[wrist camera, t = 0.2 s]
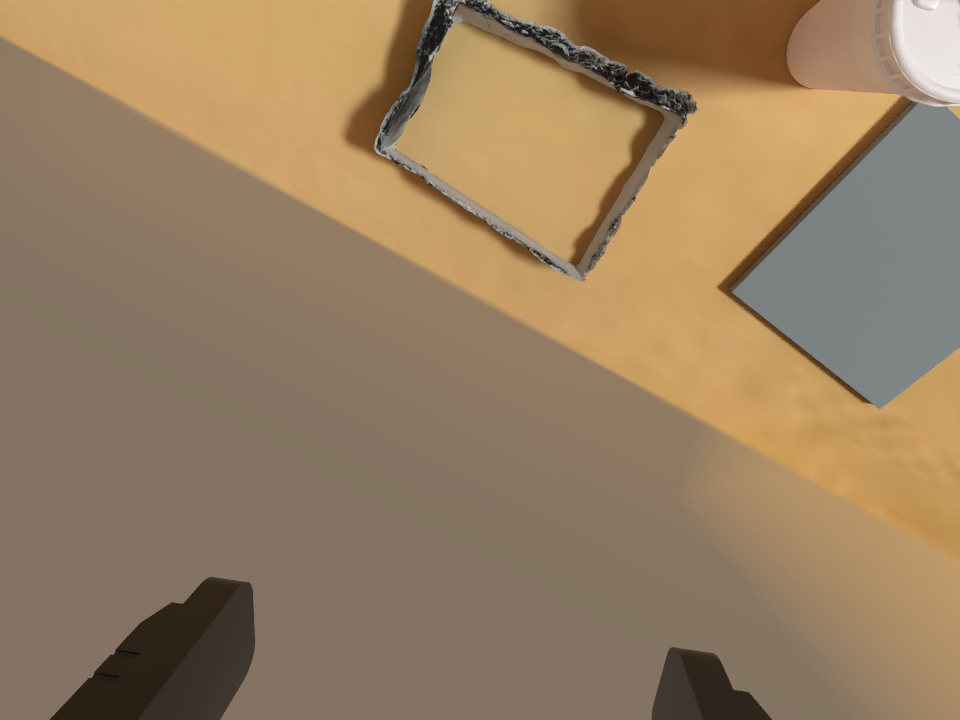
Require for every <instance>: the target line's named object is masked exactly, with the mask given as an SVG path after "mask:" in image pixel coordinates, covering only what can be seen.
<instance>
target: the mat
mask: <svg viewBox="0 0 960 720" xmlns="http://www.w3.org/2000/svg"><path fill="white" fill-rule="evenodd" d="M728 290H729V291H730V292H732V293H733V294H734V295H735V296H737V297H738V298H739V299H740V300H742V301H743V302H744V303H745V304H747V305H748V306H749V307H751V308H752V309H753V310H754V311H756V312H757V313H758V314H759V315H761V316H762V317H763V318H764V319H766V320H767V321H768V322H770V323H771V324H772V325H773V326H775V327H776V328H777V329H778V330H780V331H781V332H782V333H783V334H785V335H786V336H787V337H789V338H790V339H791V340H792V341H794V342H795V343H796V344H797V345H799V346H800V347H801V348H802V349H804V350H805V351H806V352H808V353H809V354H810V355H811V356H813V357H814V358H815V359H816V360H818V361H819V362H820V363H821V364H823V365H824V366H825V367H827V368H828V369H829V370H830V371H832V372H833V373H834V374H835V375H837V376H838V377H839V378H840V379H842V380H843V381H844V382H846V383H847V384H848V385H849V386H851V387H852V388H853V389H854V390H856V391H857V392H858V393H859V394H861V395H862V396H863V397H865V398H866V399H867V400H868V401H870V402H871V403H872V404H873V405H875V406H876V407H877V408H879V409H881V408H882V407H883V406H885V405H886V404H887V403H888V402H890V401H891V400H892V399H894V398H895V397H896V396H897V395H899V394H900V393H901V392H903V391H904V390H905V389H906V388H908V387H909V386H910V385H912V384H913V383H914V382H915V381H917V380H918V379H919V378H921V377H922V376H923V375H925V374H926V373H927V372H928V371H930V370H931V369H932V368H934V367H935V366H936V365H937V364H939V363H940V362H941V361H943V360H944V359H945V358H946V357H948V356H949V355H950V354H952V353H953V352H954V351H955V350H957V349H958V348H959V347H960V119H958V118H957V117H956V116H955V115H954V114H953V113H952V112H951V111H950V110H949V109H948V108H947V107H933V106H929V105H925V104H922V103H918V102H914V101H912V102H911V103H910V104H909V105H908V106H907V107H906V108H905V109H904V111H903V112H902V113H901V114H900V115H899V116H898V117H897V118H896V119H895V120H894V121H893V122H892V123H891V124H890V125H889V126H888V127H887V128H886V129H885V130H884V131H883V132H882V133H881V134H880V135H879V136H878V137H877V138H876V139H875V140H874V141H873V142H872V143H871V144H870V145H869V146H868V147H867V148H866V149H865V150H864V151H863V152H862V153H861V154H860V155H859V156H858V157H857V158H856V159H855V160H854V162H853V163H852V164H851V165H850V166H849V167H848V168H847V169H846V170H845V171H844V172H843V173H842V174H841V175H840V176H839V177H838V178H837V179H836V180H835V181H834V182H833V183H832V184H831V185H830V186H829V187H828V188H827V189H826V190H825V191H824V192H823V193H822V194H821V195H820V196H819V197H818V198H817V199H816V200H815V201H814V202H813V203H812V204H811V205H810V206H809V207H808V208H807V209H806V210H805V211H804V212H803V214H802V215H801V216H800V217H799V218H798V219H797V220H796V221H795V222H794V223H793V224H792V225H791V226H790V227H789V228H788V229H787V230H786V231H785V232H784V233H783V234H782V235H781V236H780V237H779V238H778V239H777V240H776V241H775V242H774V243H773V244H772V245H771V246H770V247H769V248H768V249H767V250H766V251H765V252H764V253H763V254H762V255H761V256H760V257H759V258H758V259H757V260H756V261H755V262H754V263H753V265H752V266H751V267H750V268H749V269H748V270H747V271H746V272H745V273H744V274H743V275H742V276H741V277H740V278H739V279H738V280H737V281H736V282H735V283H734V284H733V285H732V286H731V287H730V288H729V289H728Z"/></svg>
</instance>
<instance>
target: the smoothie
mask: <svg viewBox="0 0 960 720" xmlns="http://www.w3.org/2000/svg"><path fill="white" fill-rule="evenodd" d="M786 58H787V65H788V69H789V71H790V73H791V75H792V77H793V78H794V79H795V80H796V81H797V82H798V83H799V84H801V85H803V86H805V87H807V88H811V89H823V90H840V91H856V92H872V93H888V94H900V95H903V96H905V97H906V98H908V99H909V100H910V101H914V102H918V103H922V104H925V105H929V106H933V107H950V106H960V0H821V1H820V2H818V3H817V4H816V5H815V6H813V7H812V8H811V9H810V10H808V11H807V12H806V13H805V14H804V15H803V16H802V18H801V19H800V20H799V21H798V23H797V24H796V26H795V28H794V29H793V31H792V33H791V36H790V38H789V42H788V46H787V54H786Z"/></svg>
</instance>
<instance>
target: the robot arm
mask: <svg viewBox="0 0 960 720" xmlns="http://www.w3.org/2000/svg"><path fill="white" fill-rule="evenodd" d="M253 609H254V608H253V590H252V586H251V584H250V583H249V582H242V581H236V580H228V579H222V578H215V577H209V578H207V579H206V580H204V581H203V582H202V583H201V584H200V586H198V588H197V589H196V590H195V591H194V592H193V593H192V595H191V596H190V597H189V598H188V599H187V600H186V601H185V603H184V604H179V603H173V602H172V603H170V604H169V605H167V606H166V607H164V608H163V609H161V610H159V611H158V612H156V613H155V614H153V615H152V616H150V617H149V618H147V619H146V620H144V621H143V622H141V623H140V624H139V625H138V626H137V627H136V628H135V629H134V630H133V632H132V633H131V634H130V635H129V636H128V637H127V638H126V639H125V640H124V641H123V642H122V643H121V644H120V646H118V648H117V649H116V651H115V653H114V655H110V656H109V657H108V658H107V659H106V660H105V661H104V662H103V663H102V665H101V666H100V667H99V668H98V669H97V670H96V671H95V673H94V676H93V677H92V678H89V679H88V680H87V681H86V682H85V683H84V684H83V685H82V686H81V687H80V688H79V689H78V690H77V691H76V692H75V693H74V694H73V696H72V697H71V698H70V699H69V700H68V701H67V702H66V703H65V704H64V705H63V706H62V707H61V708H60V709H59V710H58V711H57V713H56V714H55V715H54V716H53V717H52V718H51V719H50V720H220V719H221V717H222V716H223V714H224V712H225V711H226V709H227V707H228V706H229V704H230V702H231V700H232V699H233V697H234V696H235V694H236V692H237V691H238V689H239V687H240V685H241V684H242V682H243V681H244V678H245V676H246V675H247V672H248V670H249V667H250V665H251V661H252V658H253V654H254V649H255V630H254V610H253ZM652 720H772V719H771V718H770V717H769V716H768V714H767V713H766V712H765V711H764V710H763V708H762V707H761V706H760V705H759V704H758V703H757V701H756V700H755V699H754V698H753V697H752V695H750V693H749V692H744V691H737V690H733V688H732V686H731V683H730V681H729V679H728V677H727V674H726V672H725V670H724V668H723V665H722V663H721V661H720V659H719V658H718V657H717V656H716V655H715V654H714V653H707V652H701V651H693V650H687V649H680V648H674V647H672V648H670V650H669V651H668V654H667V657H666V661H665V665H664V668H663V672H662V675H661V679H660V683H659V686H658V690H657V694H656V697H655V701H654V705H653V710H652Z"/></svg>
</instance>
